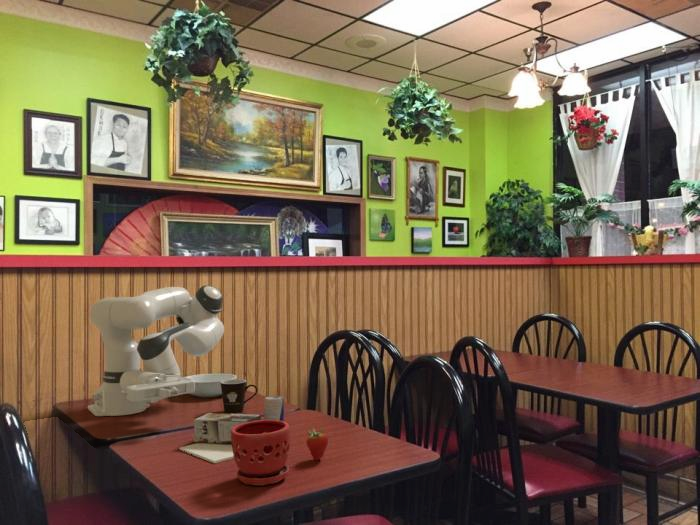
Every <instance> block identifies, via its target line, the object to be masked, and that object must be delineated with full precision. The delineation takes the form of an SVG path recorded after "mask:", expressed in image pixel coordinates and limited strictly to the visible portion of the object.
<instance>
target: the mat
mask: <svg viewBox="0 0 700 525" xmlns="http://www.w3.org/2000/svg"><path fill="white" fill-rule="evenodd" d="M238 447H239V445H238ZM178 449H180V450H179V451H181V450H182V452H184V451H185V452H184V453H186V452H187V453H186V454H189V455H191V454H192V456H195V457H197V458H200V459H202V460H205V461H207V462H210V463H213V464H218V463H221V462H226V461H229V460H233V459H234V455H233V450H232V444H220V443H204V442H195V443H193V444H189V445H186V446H181V447H179V448H178Z"/></svg>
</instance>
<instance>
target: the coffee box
mask: <svg viewBox="0 0 700 525" xmlns="http://www.w3.org/2000/svg"><path fill="white" fill-rule="evenodd" d="M259 420H262V415H261V414H250V413H249V414H248V413H247V414H246V413H225V412H224V413H221V412H219V413H218V412H217V413H215V412H208V413H206V414H204V415H200V417H197V418H194V421H193V423H194V424H193V433H194V434H193V442H194V443H201V442H204V443H220V444H232V443H231V430H232V428H234V427H235V426H237V425H240V424H243V423H247V422H252V421H259Z"/></svg>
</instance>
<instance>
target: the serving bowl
mask: <svg viewBox="0 0 700 525" xmlns="http://www.w3.org/2000/svg"><path fill="white" fill-rule="evenodd" d="M185 377H186V378H189V379H192V380H194V381H195V391H194V392H193V393H188V394H189V395H192V396H197V397H199V398H214V397H219V396H222V390H221V381H224V380H232V379H237V375H235V374H232V373H200V374H194V375H189V376H185Z"/></svg>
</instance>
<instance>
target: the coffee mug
mask: <svg viewBox="0 0 700 525" xmlns="http://www.w3.org/2000/svg"><path fill="white" fill-rule="evenodd" d="M250 387H253V388H254V389H255V393H254V394H252V396H250V397H248V399H246V392H247V390H248V389H249V388H250ZM221 390H222V394H221V396H222V404H223V412H224V414H240V413H243V412H244V408H245V404H246V403H247V402H249V401H250V400H252V399H253V398H254V397H255V396H256V395H257V393H258V387H257V385H255V384H249V385H247V380H246V379H237V378H236V379H232V380H224V381H221ZM245 399H246V400H245ZM242 411H243V412H242ZM239 412H240V413H239Z"/></svg>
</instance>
